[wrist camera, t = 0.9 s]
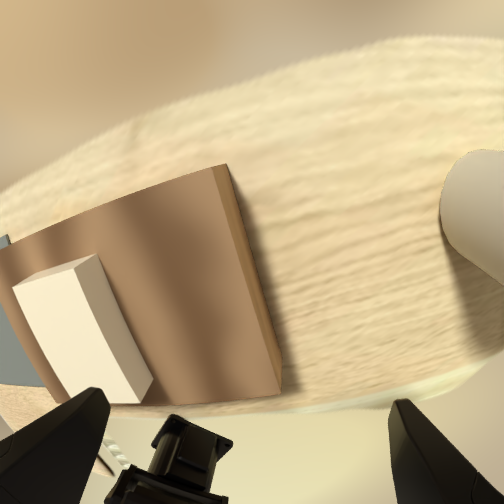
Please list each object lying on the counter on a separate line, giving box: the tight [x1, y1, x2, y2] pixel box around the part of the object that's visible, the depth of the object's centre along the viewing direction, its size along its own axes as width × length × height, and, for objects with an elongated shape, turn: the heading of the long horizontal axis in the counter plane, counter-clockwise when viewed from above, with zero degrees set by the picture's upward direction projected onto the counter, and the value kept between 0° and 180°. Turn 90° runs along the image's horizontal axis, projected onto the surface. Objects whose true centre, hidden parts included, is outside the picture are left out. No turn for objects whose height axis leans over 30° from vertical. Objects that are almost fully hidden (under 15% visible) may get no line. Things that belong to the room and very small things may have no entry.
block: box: [0, 164, 282, 406], centre depth 21 cm, size 20×14×4 cm
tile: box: [12, 253, 153, 403], centre depth 18 cm, size 6×9×2 cm, turn 16°
